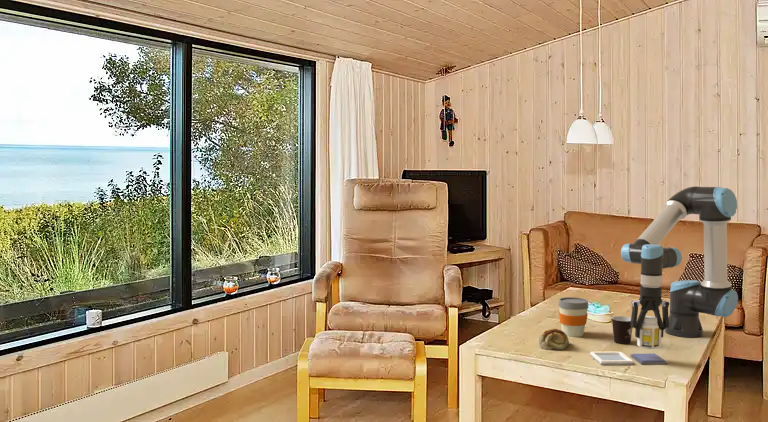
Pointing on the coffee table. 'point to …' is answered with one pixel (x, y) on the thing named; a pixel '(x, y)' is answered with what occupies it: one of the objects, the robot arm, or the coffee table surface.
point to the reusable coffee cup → (573, 315)
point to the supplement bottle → (650, 333)
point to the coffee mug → (622, 329)
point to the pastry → (553, 340)
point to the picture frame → (611, 358)
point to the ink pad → (648, 359)
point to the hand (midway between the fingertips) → (648, 345)
